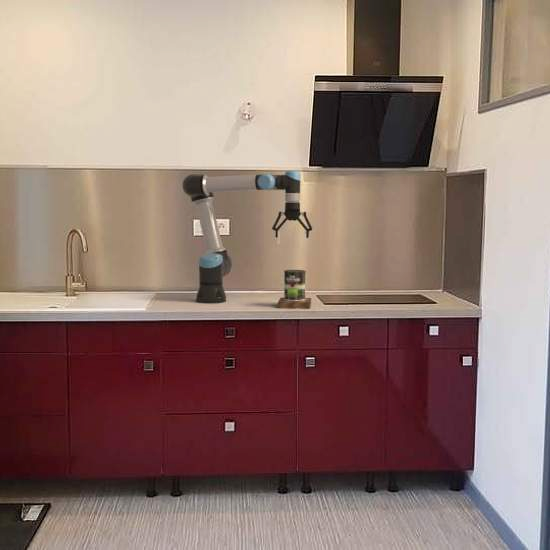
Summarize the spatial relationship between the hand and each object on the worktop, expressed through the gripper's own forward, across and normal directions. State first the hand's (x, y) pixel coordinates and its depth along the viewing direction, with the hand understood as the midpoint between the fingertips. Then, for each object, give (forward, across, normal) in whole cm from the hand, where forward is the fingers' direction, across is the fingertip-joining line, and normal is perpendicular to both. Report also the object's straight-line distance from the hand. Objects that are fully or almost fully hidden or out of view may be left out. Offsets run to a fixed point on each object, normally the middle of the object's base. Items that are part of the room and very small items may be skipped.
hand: (292, 244), depth 364 cm
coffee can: (+25, -3, +21) cm, 33 cm away
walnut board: (+28, -3, +20) cm, 35 cm away
